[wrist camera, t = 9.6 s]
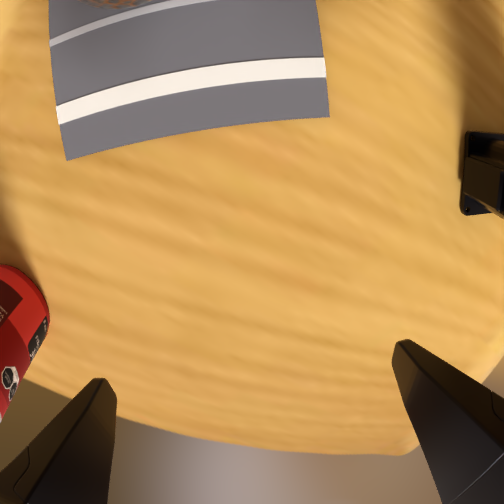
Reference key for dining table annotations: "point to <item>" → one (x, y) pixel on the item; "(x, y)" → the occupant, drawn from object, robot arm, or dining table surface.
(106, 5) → the vase
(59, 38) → the mat
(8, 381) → the canned food
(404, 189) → the dining table surface
